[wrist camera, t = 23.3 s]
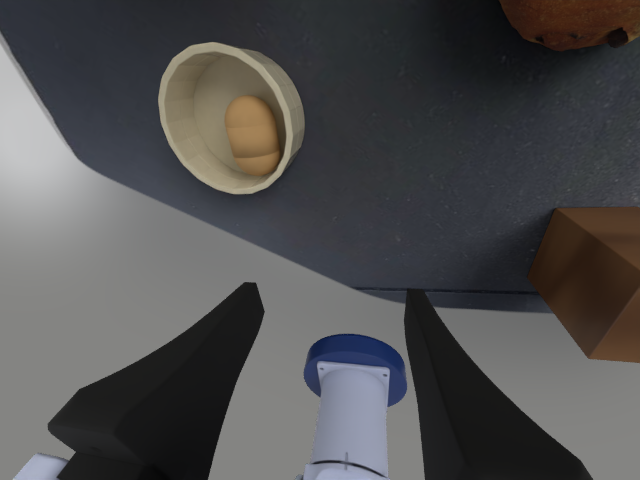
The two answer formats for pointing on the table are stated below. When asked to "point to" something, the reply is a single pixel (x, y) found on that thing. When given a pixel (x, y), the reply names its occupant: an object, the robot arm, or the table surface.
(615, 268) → the block
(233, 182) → the bowl
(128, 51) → the table surface
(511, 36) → the table surface
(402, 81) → the table surface
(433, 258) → the table surface
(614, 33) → the bread roll
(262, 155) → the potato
